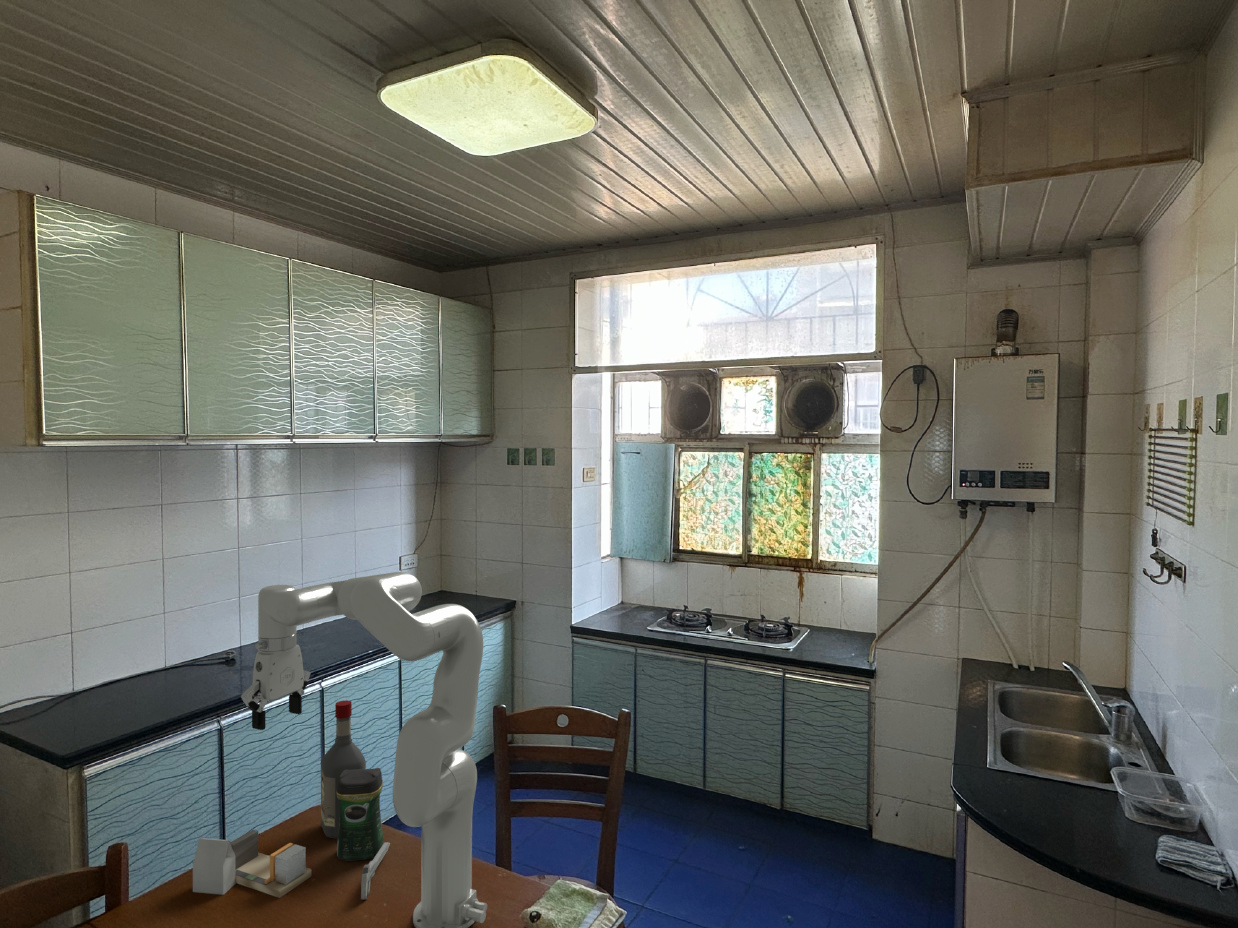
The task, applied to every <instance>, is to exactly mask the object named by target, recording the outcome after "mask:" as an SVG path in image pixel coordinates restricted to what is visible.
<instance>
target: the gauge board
mask: <svg viewBox="0 0 1238 928" xmlns="http://www.w3.org/2000/svg"><path fill="white" fill-rule="evenodd" d="M230 842H231V846H232V849H233V851H234V854H235V884H238V885H240V886H244V887H247V888H249V889H252V890H256V891H259V892H261V893H264V894H266V895H270V896H272V897H275V898H278V899H280V898H282V897H283V896H285V895H287V893H289V892H291V891H292V890H293V889H295V888H297V887H298V886H299V885H301V884H302V883H304V882H305V881H307V880H308V879H309V878H311V877H312V868H309V867H306V871H305V872H304V873H302V874H301V875H299V876H298V877H296V878H295V879H293V880H292V881H290V882H289V883H288V884H283V883H280V882H277V881H275V880H271V881H270V882H268V883H267V884H265V880H267V879H268V878H270V855H268V854H264V853H261V852H259V830H256V829H250V830H249V831H248V832H246V833H244V834H243V835H240V836H239V837H237V838H235V839H233V840H231V841H230Z"/></svg>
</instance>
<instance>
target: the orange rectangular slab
mask: <svg viewBox="0 0 1238 928" xmlns="http://www.w3.org/2000/svg"><path fill="white" fill-rule="evenodd" d="M293 845H294V843H292V842H289V843H287V844H285V845H284V846H282V847H280V848H279V849H278V850H276V851H275V852H273V853H271V854H270V855H269V856H270V878H268V879H267V880H265V884H267V883H268V882H270V881H271V880H275V857H276V856H277V855H279V854H280V853H282V852H284V851H285V850H287V849H288V848H290V847H292V846H293Z"/></svg>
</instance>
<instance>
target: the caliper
mask: <svg viewBox="0 0 1238 928" xmlns="http://www.w3.org/2000/svg"><path fill="white" fill-rule="evenodd" d="M390 845H391V843H390V842H387V841H386V842H385V841H384V842H383V845H382V847H381V848H380V850H379V851H378V853H377V855H376V856H375V857H373V858H372V860H370V861H369V863H368V864H364V866H363V867H362V873H361V884H360V887H361V888H360V891H361V892H360V899H361V900H362V901H363V900H368V896H369V895H370V892H371V891H370V888H371V882H372V881H371V880H372V879H373V878H374V876H375V875H376V870H377V869H378V866H379V865H380V863H381V862H382V860H383V859H384V857H385V855H386V854H387V853H388V850H389V847H390Z"/></svg>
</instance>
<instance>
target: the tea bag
mask: <svg viewBox="0 0 1238 928" xmlns="http://www.w3.org/2000/svg"><path fill="white" fill-rule="evenodd" d="M231 842H232V841H231V840H230V839H220V838H219V839H218V838H209V837H208V838H205V837H200V838H198V842H197V847H196V850H195V854H194V857H193V861H192V892H193V893H200V894H202V893H203V894H209V895H210V894H211V895H225V894H227V892H229V890H230V889H232V888H233V887H234V886H235V885H236V883H235V854H234V851H233V849H232V846H231Z"/></svg>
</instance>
